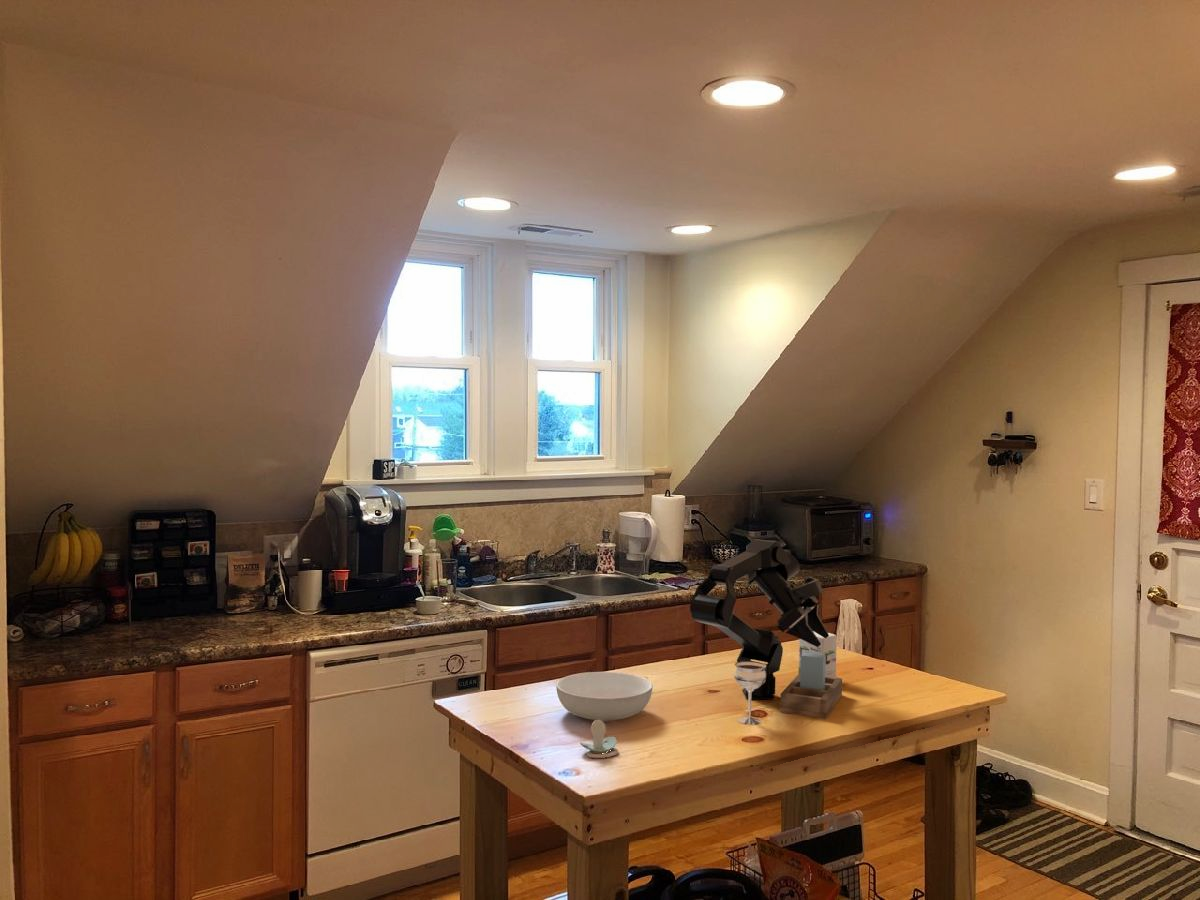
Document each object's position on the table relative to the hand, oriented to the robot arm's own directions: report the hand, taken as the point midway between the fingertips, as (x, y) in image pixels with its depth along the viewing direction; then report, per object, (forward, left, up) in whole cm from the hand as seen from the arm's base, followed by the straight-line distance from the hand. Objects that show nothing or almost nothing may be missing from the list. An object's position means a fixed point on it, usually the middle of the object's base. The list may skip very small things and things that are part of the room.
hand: (823, 641), depth 213 cm
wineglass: (-19, -15, -14) cm, 28 cm away
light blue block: (-3, -3, -13) cm, 13 cm away
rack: (-3, -3, -14) cm, 14 cm away
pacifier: (-51, -36, -14) cm, 64 cm away
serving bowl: (-50, -12, -14) cm, 54 cm away
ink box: (+3, +17, -14) cm, 22 cm away
